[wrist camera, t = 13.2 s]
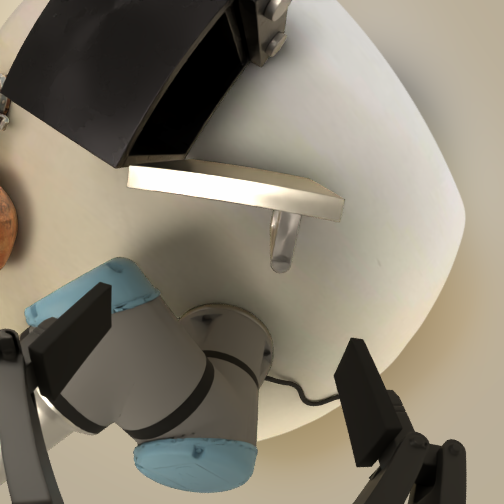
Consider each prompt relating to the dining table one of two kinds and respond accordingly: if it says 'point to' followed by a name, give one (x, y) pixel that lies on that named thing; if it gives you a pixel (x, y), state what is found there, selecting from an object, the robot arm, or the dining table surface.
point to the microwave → (139, 70)
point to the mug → (3, 106)
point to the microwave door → (246, 195)
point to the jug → (7, 227)
